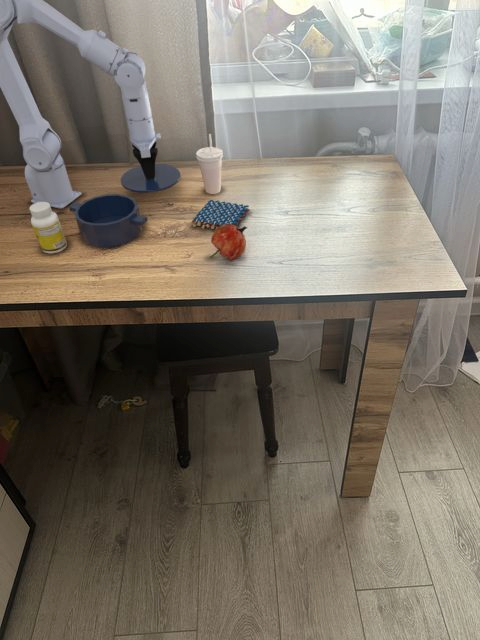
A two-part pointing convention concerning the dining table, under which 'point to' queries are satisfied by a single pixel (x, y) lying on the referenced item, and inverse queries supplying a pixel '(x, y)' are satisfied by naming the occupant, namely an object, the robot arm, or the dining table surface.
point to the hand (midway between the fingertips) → (150, 174)
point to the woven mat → (220, 214)
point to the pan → (108, 220)
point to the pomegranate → (229, 241)
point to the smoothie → (210, 167)
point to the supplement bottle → (47, 228)
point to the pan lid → (150, 179)
